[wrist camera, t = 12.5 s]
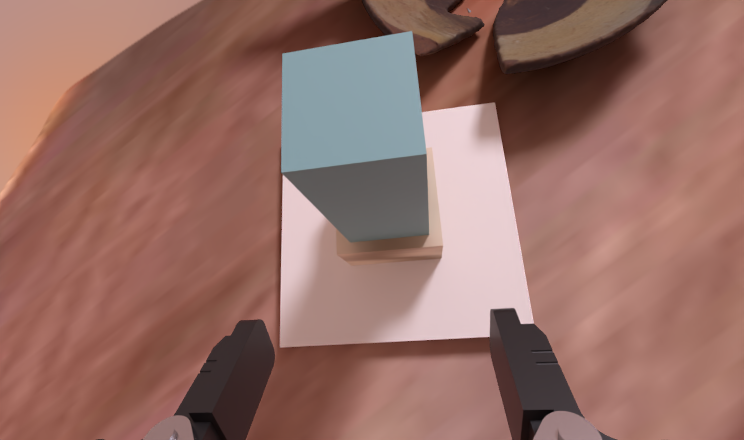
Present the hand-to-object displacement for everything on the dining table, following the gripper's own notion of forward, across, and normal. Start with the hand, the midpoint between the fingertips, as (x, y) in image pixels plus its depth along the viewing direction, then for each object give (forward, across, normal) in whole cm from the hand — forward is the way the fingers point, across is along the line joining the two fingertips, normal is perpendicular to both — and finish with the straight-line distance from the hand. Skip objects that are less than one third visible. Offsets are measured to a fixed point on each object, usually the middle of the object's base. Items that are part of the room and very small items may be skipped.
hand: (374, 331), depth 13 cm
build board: (+13, 0, +3) cm, 14 cm away
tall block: (+10, 0, 0) cm, 10 cm away
